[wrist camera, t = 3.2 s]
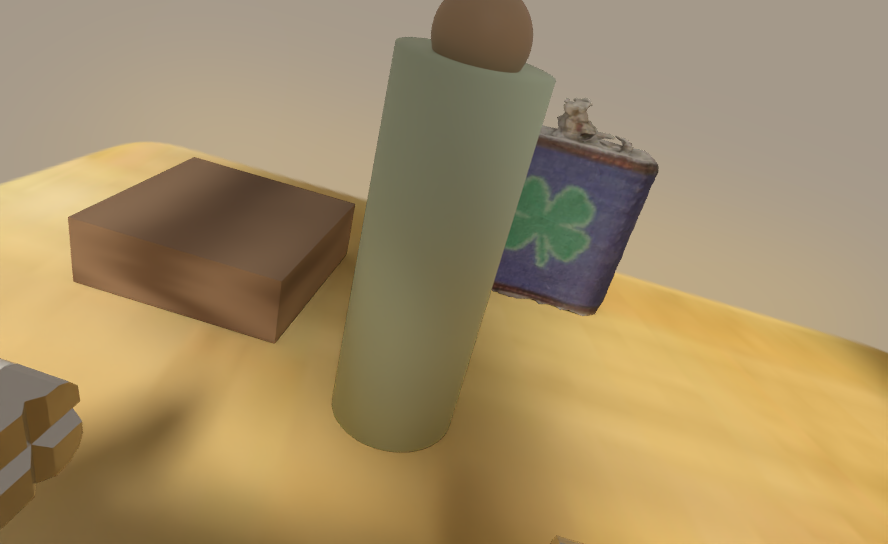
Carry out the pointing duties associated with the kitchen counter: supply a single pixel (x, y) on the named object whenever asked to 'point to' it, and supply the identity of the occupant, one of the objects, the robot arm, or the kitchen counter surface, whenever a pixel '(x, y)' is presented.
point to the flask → (574, 214)
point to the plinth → (213, 246)
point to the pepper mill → (437, 218)
